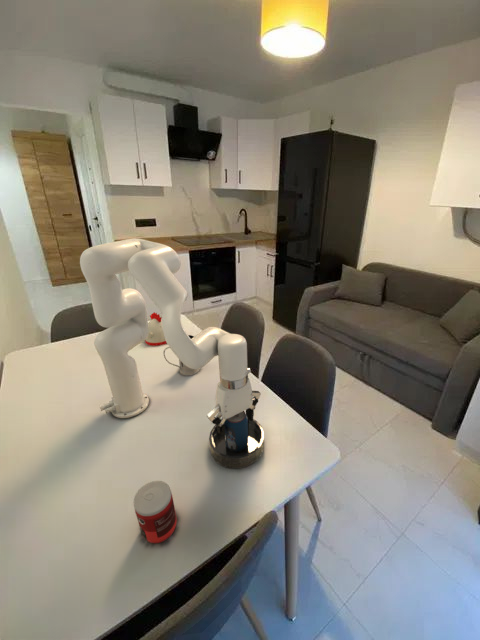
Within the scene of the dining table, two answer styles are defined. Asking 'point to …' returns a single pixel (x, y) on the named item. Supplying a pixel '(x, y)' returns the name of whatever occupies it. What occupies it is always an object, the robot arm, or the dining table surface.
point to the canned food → (155, 511)
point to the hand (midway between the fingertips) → (236, 425)
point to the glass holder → (183, 368)
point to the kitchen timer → (155, 331)
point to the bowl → (242, 457)
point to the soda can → (236, 432)
